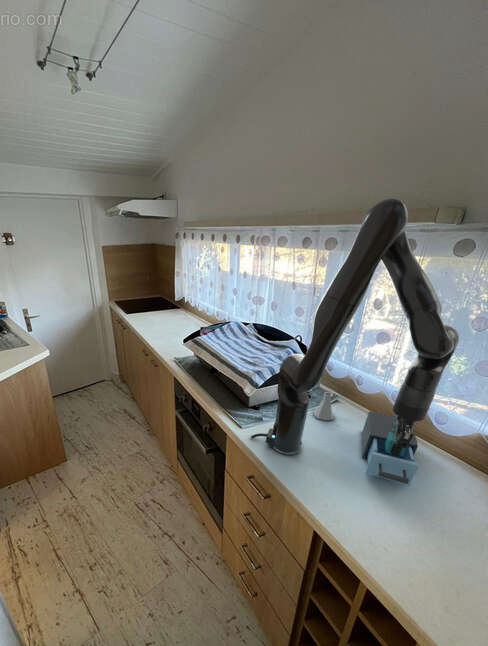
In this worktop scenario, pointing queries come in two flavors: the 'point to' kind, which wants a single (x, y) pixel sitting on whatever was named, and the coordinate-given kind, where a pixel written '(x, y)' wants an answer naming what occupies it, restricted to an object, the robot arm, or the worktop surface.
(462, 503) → the worktop surface
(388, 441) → the teal block
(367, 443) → the grey hollow box
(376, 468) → the light blue drawer box
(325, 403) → the flask
